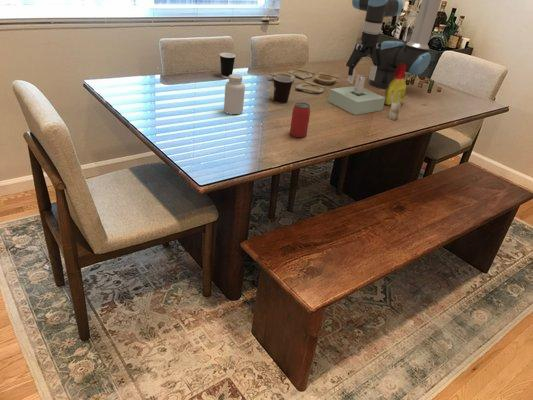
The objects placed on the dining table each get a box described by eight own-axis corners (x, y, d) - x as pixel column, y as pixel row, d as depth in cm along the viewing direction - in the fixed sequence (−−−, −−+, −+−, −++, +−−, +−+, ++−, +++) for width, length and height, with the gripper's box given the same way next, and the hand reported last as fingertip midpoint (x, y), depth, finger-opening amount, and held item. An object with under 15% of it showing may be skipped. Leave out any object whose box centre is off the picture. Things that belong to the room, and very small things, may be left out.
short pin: (392, 116, 197) (396, 101, 194) (398, 119, 195) (402, 104, 191) (386, 117, 195) (390, 102, 192) (392, 120, 193) (396, 105, 189)
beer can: (288, 130, 170) (292, 101, 164) (304, 131, 171) (309, 102, 165) (290, 137, 165) (295, 107, 159) (307, 138, 166) (312, 108, 159)
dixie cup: (215, 76, 220) (216, 54, 214) (224, 73, 226) (225, 51, 220) (228, 80, 217) (229, 58, 211) (237, 77, 223) (238, 55, 217)
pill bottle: (228, 116, 177) (230, 79, 169) (220, 108, 183) (222, 73, 175) (246, 114, 180) (248, 78, 172) (238, 107, 186) (240, 72, 178)
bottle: (387, 107, 207) (398, 65, 196) (378, 102, 212) (388, 61, 201) (405, 105, 213) (416, 63, 202) (395, 100, 217) (406, 60, 207)
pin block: (355, 97, 215) (358, 85, 211) (382, 110, 202) (385, 97, 199) (328, 101, 205) (330, 88, 202) (354, 115, 193) (357, 102, 190)
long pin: (355, 103, 206) (361, 74, 199) (361, 106, 204) (367, 77, 196) (349, 104, 204) (355, 75, 197) (355, 107, 202) (361, 77, 194)
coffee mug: (288, 105, 195) (291, 83, 190) (269, 102, 196) (272, 80, 191) (292, 97, 205) (295, 76, 200) (274, 94, 206) (276, 73, 201)
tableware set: (315, 97, 210) (316, 89, 207) (263, 82, 221) (264, 74, 219) (343, 82, 236) (344, 75, 234) (296, 70, 247) (297, 62, 245)
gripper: (384, 29, 195) (374, 76, 207) (344, 31, 183) (334, 81, 194) (397, 33, 190) (385, 81, 202) (356, 35, 178) (346, 86, 189)
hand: (360, 81), depth 198 cm, fingers open, 13 cm apart
